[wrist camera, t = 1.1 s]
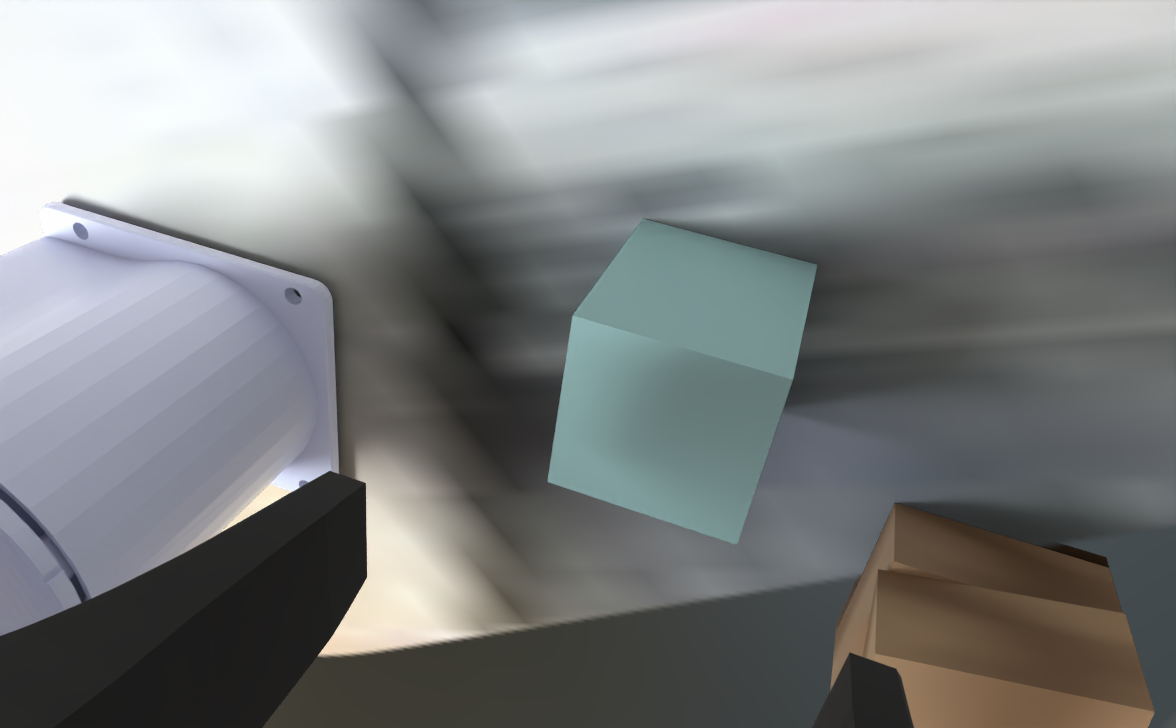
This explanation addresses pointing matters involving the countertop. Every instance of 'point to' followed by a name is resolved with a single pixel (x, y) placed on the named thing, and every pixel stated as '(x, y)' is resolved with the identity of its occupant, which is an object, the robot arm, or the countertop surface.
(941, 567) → the tower base
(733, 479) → the teal block
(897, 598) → the tower top
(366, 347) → the countertop surface
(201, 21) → the countertop surface
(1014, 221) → the countertop surface
